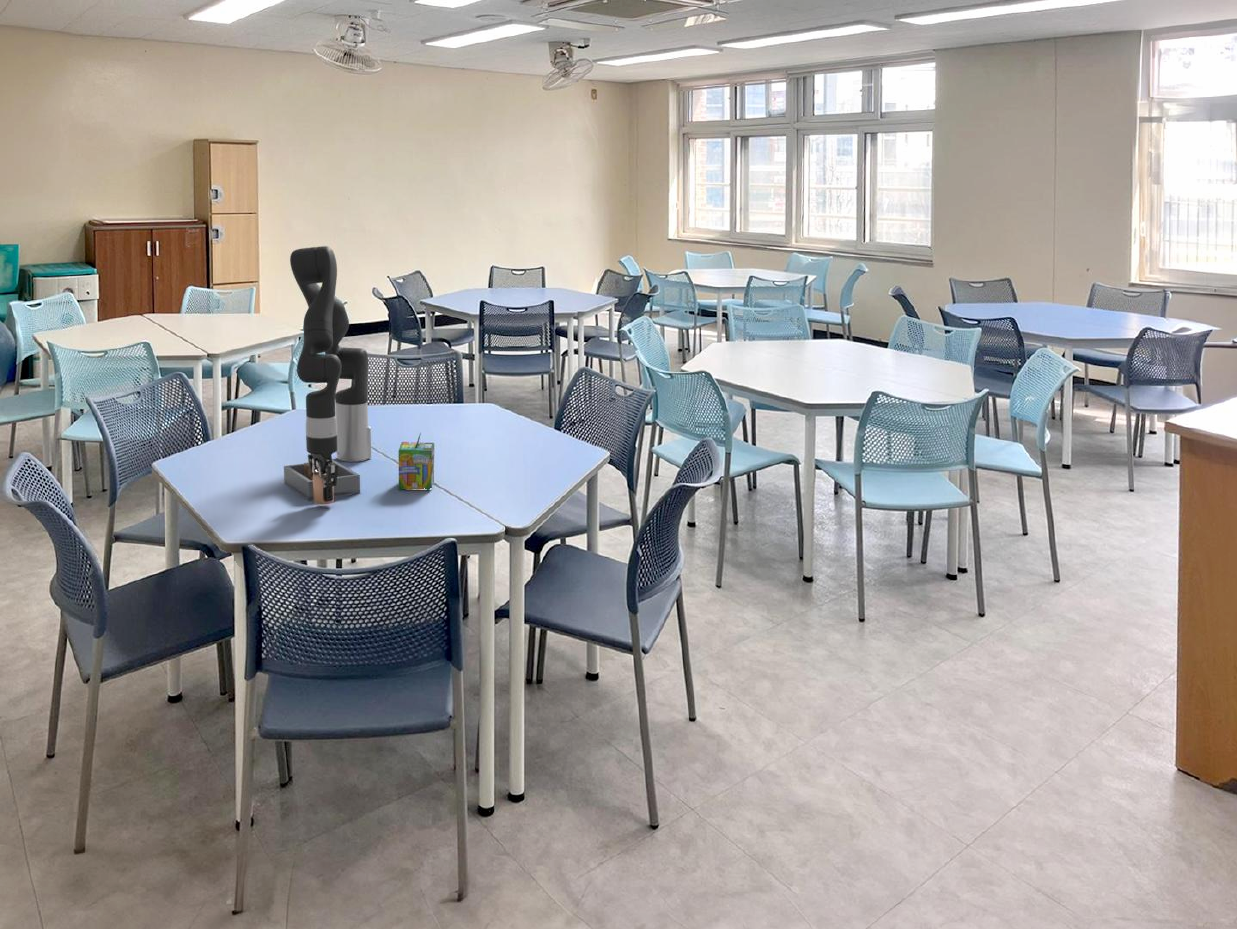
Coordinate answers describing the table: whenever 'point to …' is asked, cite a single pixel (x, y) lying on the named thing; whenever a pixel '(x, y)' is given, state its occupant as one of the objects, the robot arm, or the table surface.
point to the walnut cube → (307, 471)
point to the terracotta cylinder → (319, 490)
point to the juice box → (416, 465)
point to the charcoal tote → (298, 482)
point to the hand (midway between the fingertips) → (323, 497)
